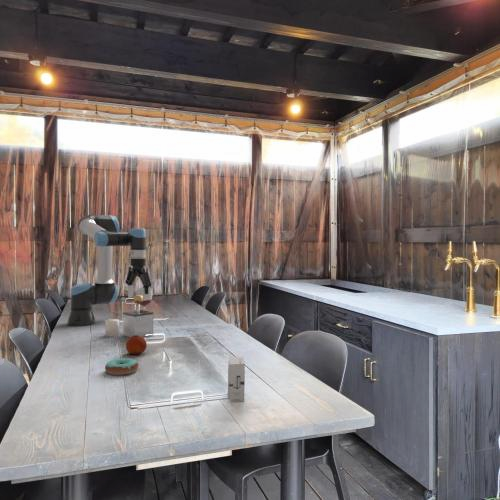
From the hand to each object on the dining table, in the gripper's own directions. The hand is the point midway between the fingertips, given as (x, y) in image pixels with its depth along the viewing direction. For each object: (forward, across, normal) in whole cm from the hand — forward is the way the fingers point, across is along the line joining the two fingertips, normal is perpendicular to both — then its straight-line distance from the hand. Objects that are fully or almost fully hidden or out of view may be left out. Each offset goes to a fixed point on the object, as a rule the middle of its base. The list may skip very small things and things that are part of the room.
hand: (137, 299), depth 222 cm
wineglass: (+19, -13, +13) cm, 27 cm away
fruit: (+19, +32, -21) cm, 42 cm away
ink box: (+18, +100, -29) cm, 105 cm away
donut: (+18, +50, -39) cm, 66 cm away
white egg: (+19, -9, -9) cm, 23 cm away
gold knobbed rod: (+17, +1, 0) cm, 17 cm away
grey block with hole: (+19, +1, 0) cm, 19 cm away
